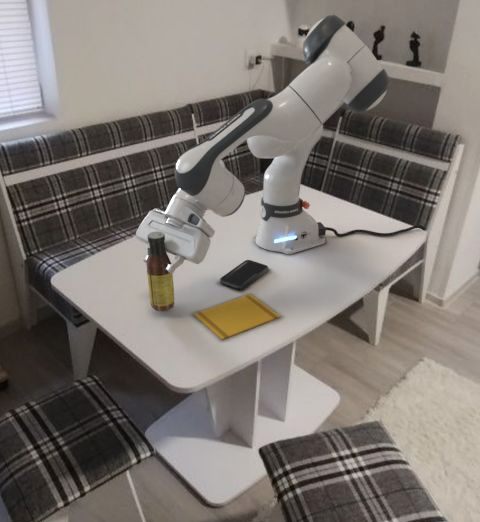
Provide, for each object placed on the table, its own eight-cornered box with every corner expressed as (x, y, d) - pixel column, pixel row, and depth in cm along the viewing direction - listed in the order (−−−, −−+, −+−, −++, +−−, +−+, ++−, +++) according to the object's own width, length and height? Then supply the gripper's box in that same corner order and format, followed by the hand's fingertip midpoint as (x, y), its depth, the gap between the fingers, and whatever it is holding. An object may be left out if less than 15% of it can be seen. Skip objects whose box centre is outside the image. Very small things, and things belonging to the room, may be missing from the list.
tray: (250, 295, 143) (250, 293, 143) (280, 317, 134) (280, 315, 134) (194, 315, 135) (193, 313, 135) (221, 340, 126) (221, 338, 126)
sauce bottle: (179, 305, 136) (176, 235, 123) (161, 315, 132) (157, 243, 120) (162, 296, 139) (158, 226, 127) (144, 305, 135) (138, 234, 123)
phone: (218, 279, 147) (247, 259, 157) (218, 283, 148) (247, 262, 158) (242, 288, 144) (269, 266, 153) (241, 291, 144) (269, 269, 154)
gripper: (145, 200, 131) (120, 250, 130) (208, 222, 121) (181, 276, 121) (159, 212, 136) (135, 259, 136) (220, 234, 126) (194, 285, 126)
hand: (157, 267), depth 128 cm, fingers closed on sauce bottle, 6 cm apart
